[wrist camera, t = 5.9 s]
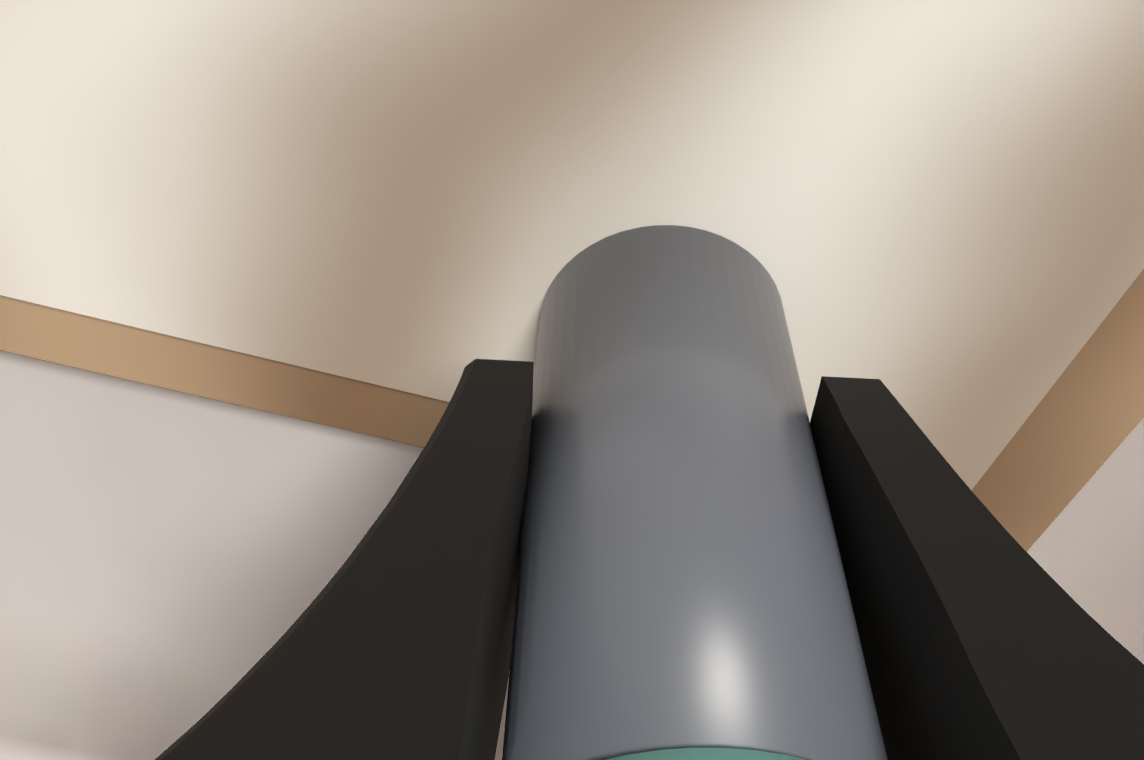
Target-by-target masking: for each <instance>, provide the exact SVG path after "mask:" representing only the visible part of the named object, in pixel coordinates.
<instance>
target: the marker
mask: <svg viewBox="0 0 1144 760" xmlns="http://www.w3.org/2000/svg"><path fill="white" fill-rule="evenodd" d="M502 760H888V759H887V755H886V751H885V746H884V742H883V738H882V733H881V729H880V725H879V720H878V716H877V712H876V707H875V703H874V699H873V694H872V690H871V686H870V681H869V677H868V673H867V668H866V664H865V660H864V655H863V651H862V647H861V642H860V638H859V634H858V629H857V625H856V621H855V616H854V612H853V608H852V604H851V599H850V595H849V591H848V586H847V582H846V578H845V573H844V569H843V565H842V560H841V556H840V552H839V547H838V543H837V539H836V534H835V530H834V526H833V521H832V517H831V513H830V508H829V504H828V500H827V495H826V491H825V487H824V482H823V478H822V474H821V469H820V465H819V461H818V456H817V452H816V448H815V443H814V439H813V435H812V430H811V426H810V422H809V417H808V413H807V409H806V405H805V400H804V396H803V392H802V387H801V383H800V379H799V374H798V370H797V366H796V361H795V357H794V353H793V348H792V344H791V340H790V335H789V331H788V327H787V322H786V318H785V314H784V309H783V305H782V301H781V297H780V294H779V292H778V289H777V287H776V284H775V283H774V281H773V279H772V278H771V276H770V274H769V273H768V271H767V270H766V269H765V268H764V267H763V265H762V264H761V263H760V262H759V261H758V260H757V259H756V258H755V257H754V256H753V255H752V254H750V253H749V252H748V251H747V250H745V249H744V248H742V247H741V246H739V245H738V244H736V243H735V242H733V241H731V240H729V239H727V238H724V237H722V236H720V235H717V234H714V233H712V232H709V231H706V230H701V229H697V228H692V227H686V226H676V225H654V226H646V227H638V228H634V229H630V230H626V231H622V232H619V233H616V234H614V235H611V236H608V237H606V238H603V239H602V240H600V241H598V242H596V243H594V244H592V245H590V246H589V247H587V248H586V249H584V250H583V251H581V252H580V253H578V254H577V255H576V256H575V257H574V258H573V259H571V260H570V261H569V262H568V263H567V264H566V265H565V266H564V267H563V268H562V270H561V271H560V272H559V273H558V274H557V276H556V277H555V279H554V280H553V282H552V283H551V285H550V287H549V288H548V291H547V293H546V295H545V297H544V300H543V303H542V307H541V311H540V317H539V327H538V339H537V351H536V363H535V375H534V387H533V403H532V425H531V438H530V450H529V463H528V475H527V486H526V493H525V500H524V508H523V519H522V530H521V542H520V554H519V566H518V578H517V590H516V602H515V614H514V626H513V638H512V650H511V662H510V674H509V686H508V698H507V710H506V722H505V734H504V746H503V758H502Z"/></svg>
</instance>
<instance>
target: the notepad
mask: <svg viewBox="0 0 1144 760" xmlns="http://www.w3.org/2000/svg"><path fill="white" fill-rule="evenodd" d="M654 225H676V226H686V227H692V228H697V229H701V230H706V231H709V232H712V233H714V234H717V235H720V236H722V237H724V238H727V239H729V240H731V241H733V242H735V243H736V244H738V245H739V246H741V247H742V248H744V249H745V250H747V251H748V252H749V253H750V254H752V255H753V256H754V257H755V258H756V259H757V260H758V261H759V262H760V263H761V264H762V265H763V267H764V268H765V269H766V270H767V271H768V273H769V274H770V276H771V278H772V279H773V281H774V283H775V284H776V287H777V289H778V292H779V294H780V297H781V301H782V305H783V309H784V314H785V318H786V322H787V327H788V331H789V335H790V340H791V344H792V348H793V353H794V357H795V361H796V366H797V370H798V374H799V379H800V383H801V387H802V392H803V396H804V400H805V405H806V409H807V413H808V417H809V422H810V420H811V416H812V412H813V408H814V405H815V401H816V397H817V393H818V389H819V385H820V381H821V377H822V376H826V377H846V378H866V379H880V380H881V381H882V382H883V384H884V385H885V386H886V387H887V388H888V390H889V391H890V392H891V393H892V395H893V396H894V397H895V398H896V399H897V401H898V402H899V403H900V404H901V406H902V407H903V408H904V409H905V410H906V412H907V413H908V414H909V415H910V417H911V418H912V419H913V420H914V422H915V423H916V424H917V425H918V426H919V428H920V429H921V430H922V431H923V433H924V434H925V435H926V436H927V438H928V439H929V440H930V441H931V442H932V444H933V445H934V446H935V447H936V449H937V450H938V451H939V452H940V453H941V455H942V456H943V457H944V458H945V459H946V461H947V462H948V463H949V464H950V466H951V467H952V468H953V469H954V470H955V472H956V473H957V474H958V475H959V476H960V478H961V479H962V480H963V481H964V482H965V483H966V485H967V486H968V487H969V488H970V489H971V491H972V492H973V493H974V494H975V495H976V496H977V497H978V499H979V500H980V501H981V502H982V503H983V504H984V505H985V507H986V508H987V509H988V510H989V511H990V512H991V513H992V514H993V516H994V517H995V518H996V519H997V520H998V521H999V522H1000V524H1001V525H1002V526H1003V527H1004V528H1005V529H1006V530H1007V532H1008V533H1009V534H1010V535H1011V536H1012V537H1013V538H1014V539H1015V540H1016V541H1017V542H1018V543H1019V544H1020V546H1021V547H1022V548H1023V549H1024V550H1025V551H1026V552H1027V551H1028V549H1029V548H1030V547H1031V546H1032V545H1033V544H1034V543H1035V541H1036V540H1037V539H1038V538H1039V537H1040V536H1041V534H1042V533H1043V532H1044V531H1045V530H1046V529H1047V528H1048V526H1049V525H1050V524H1051V523H1052V522H1053V521H1054V520H1055V518H1056V517H1057V516H1058V515H1059V514H1060V513H1061V512H1062V510H1063V509H1064V508H1065V507H1066V506H1067V505H1068V504H1069V502H1070V501H1071V500H1072V499H1073V498H1074V497H1075V495H1076V494H1077V493H1078V492H1079V491H1080V490H1081V489H1082V487H1083V486H1084V485H1085V484H1086V483H1087V482H1088V481H1089V479H1090V478H1091V477H1092V476H1093V475H1094V474H1095V473H1096V471H1097V470H1098V469H1099V468H1100V467H1101V466H1102V465H1103V463H1104V462H1105V461H1106V460H1107V459H1108V458H1109V456H1110V455H1111V454H1112V453H1113V452H1114V451H1115V450H1116V448H1117V447H1118V446H1119V445H1120V444H1121V443H1122V442H1123V440H1124V439H1125V438H1126V437H1127V436H1128V435H1129V434H1130V432H1131V431H1132V430H1133V429H1134V428H1135V427H1136V426H1137V424H1138V423H1139V422H1140V421H1141V420H1142V419H1143V417H1144V0H0V350H2V351H6V352H11V353H15V354H19V355H24V356H28V357H32V358H37V359H41V360H45V361H50V362H54V363H58V364H63V365H67V366H71V367H76V368H80V369H84V370H89V371H93V372H98V373H102V374H106V375H111V376H115V377H119V378H124V379H128V380H132V381H137V382H141V383H145V384H150V385H154V386H158V387H163V388H167V389H171V390H176V391H180V392H184V393H189V394H193V395H198V396H202V397H206V398H211V399H215V400H219V401H224V402H228V403H232V404H237V405H241V406H245V407H250V408H254V409H258V410H263V411H267V412H271V413H276V414H280V415H285V416H289V417H293V418H298V419H302V420H306V421H311V422H315V423H319V424H324V425H328V426H332V427H337V428H341V429H345V430H350V431H354V432H358V433H363V434H367V435H372V436H376V437H380V438H385V439H389V440H393V441H398V442H402V443H406V444H411V445H415V446H419V447H425V446H426V444H427V442H428V441H429V439H430V437H431V435H432V434H433V432H434V430H435V428H436V427H437V425H438V423H439V421H440V419H441V418H442V416H443V414H444V412H445V410H446V408H447V406H448V404H449V402H450V400H451V398H452V396H453V394H454V392H455V390H456V388H457V385H458V383H459V381H460V378H461V376H462V373H463V371H464V368H465V366H467V365H468V364H469V363H471V362H472V361H473V360H475V359H491V360H511V361H531V362H534V369H533V387H534V375H535V363H536V351H537V339H538V327H539V317H540V311H541V307H542V303H543V300H544V297H545V295H546V293H547V291H548V288H549V287H550V285H551V283H552V282H553V280H554V279H555V277H556V276H557V274H558V273H559V272H560V271H561V270H562V268H563V267H564V266H565V265H566V264H567V263H568V262H569V261H570V260H571V259H573V258H574V257H575V256H576V255H577V254H578V253H580V252H581V251H583V250H584V249H586V248H587V247H589V246H590V245H592V244H594V243H596V242H598V241H600V240H602V239H603V238H606V237H608V236H611V235H614V234H616V233H619V232H622V231H626V230H630V229H634V228H638V227H646V226H654Z"/></svg>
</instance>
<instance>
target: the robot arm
mask: <svg viewBox="0 0 1144 760" xmlns="http://www.w3.org/2000/svg"><path fill="white" fill-rule="evenodd" d="M533 369H534V362H531V361H511V360H491V359H475V360H473V361H472V362H471V363H469V364H468V365H467V366H465V368H464V371H463V373H462V376H461V378H460V381H459V383H458V385H457V388H456V390H455V392H454V394H453V396H452V398H451V400H450V402H449V404H448V406H447V408H446V410H445V412H444V414H443V416H442V418H441V419H440V421H439V423H438V425H437V427H436V428H435V430H434V432H433V434H432V435H431V437H430V439H429V441H428V442H427V444H426V446H425V447H424V449H423V451H422V452H421V454H420V455H419V457H418V458H417V460H416V462H415V463H414V465H413V466H412V468H411V469H410V471H409V473H408V474H407V476H406V477H405V479H404V480H403V482H402V484H401V485H400V487H399V488H398V490H397V491H396V493H395V495H394V496H393V497H392V499H391V500H390V502H389V503H388V505H387V506H386V508H385V509H384V510H383V512H382V513H381V514H380V516H379V517H378V519H377V520H376V521H375V523H374V524H373V525H372V527H371V528H370V529H369V531H368V532H367V533H366V535H365V536H364V538H363V539H362V540H361V542H360V543H359V544H358V546H357V547H356V548H355V550H354V551H353V552H352V554H351V555H350V557H349V558H348V559H347V561H346V562H345V563H344V564H343V566H342V567H341V568H340V569H339V571H338V572H337V573H336V574H335V576H334V577H333V578H332V579H331V581H330V582H329V583H328V584H327V585H326V587H325V588H324V589H323V590H322V591H321V593H320V594H319V595H318V596H317V597H316V599H315V600H314V601H313V602H312V603H311V604H310V606H309V607H308V608H307V609H306V610H305V611H304V612H303V614H302V615H301V616H300V617H299V618H298V619H297V620H296V622H295V623H294V624H293V625H292V626H291V627H290V628H289V629H288V631H287V632H286V633H285V634H284V635H283V636H282V637H281V638H280V639H279V640H278V642H277V643H276V644H275V645H274V646H273V647H272V648H271V649H270V650H269V651H268V652H267V653H266V654H265V655H264V656H263V657H262V658H261V659H260V660H259V661H258V662H257V663H256V664H255V665H254V666H253V667H252V669H251V670H250V671H249V672H248V673H247V674H246V675H245V676H244V677H243V678H242V679H241V680H240V681H239V682H238V683H237V684H236V685H235V686H234V687H233V688H232V689H231V690H230V691H229V692H228V693H227V694H226V695H225V696H224V697H223V698H222V699H221V700H220V701H219V702H218V703H217V704H216V705H215V706H214V707H213V708H212V709H211V710H210V711H209V712H208V713H206V714H205V715H204V716H203V717H202V718H201V719H200V720H199V721H198V722H197V723H196V724H195V725H194V726H193V727H191V728H190V729H189V730H188V731H187V732H186V733H185V734H184V735H182V736H181V737H180V738H179V739H178V740H177V741H176V742H174V743H173V744H172V745H171V746H170V747H169V748H168V749H167V750H165V751H164V752H163V753H162V754H161V755H160V756H159V757H158V758H156V759H155V760H494V758H495V753H496V747H497V741H498V735H499V729H500V723H501V717H502V712H503V706H504V700H505V694H506V688H507V682H508V676H509V671H510V662H511V650H512V638H513V626H514V614H515V602H516V590H517V578H518V566H519V554H520V542H521V530H522V519H523V508H524V500H525V493H526V486H527V475H528V463H529V450H530V438H531V425H532V403H533ZM810 426H811V430H812V435H813V439H814V443H815V448H816V452H817V456H818V461H819V465H820V469H821V474H822V478H823V482H824V487H825V491H826V495H827V500H828V504H829V508H830V513H831V517H832V521H833V526H834V530H835V534H836V539H837V543H838V547H839V552H840V556H841V560H842V565H843V569H844V573H845V578H846V582H847V586H848V591H849V595H850V599H851V604H852V608H853V612H854V616H855V621H856V625H857V629H858V634H859V638H860V642H861V647H862V651H863V655H864V660H865V664H866V668H867V673H868V677H869V681H870V686H871V690H872V694H873V699H874V703H875V707H876V712H877V716H878V720H879V725H880V729H881V733H882V738H883V742H884V746H885V751H886V755H887V759H888V760H1144V664H1142V663H1141V662H1140V661H1139V660H1138V659H1137V658H1136V657H1135V656H1133V655H1132V654H1131V653H1130V652H1129V651H1128V650H1127V649H1125V648H1124V647H1123V646H1122V645H1121V644H1120V643H1119V642H1118V641H1116V640H1115V639H1114V638H1113V637H1112V636H1111V635H1110V634H1109V633H1107V632H1106V631H1105V630H1104V629H1103V628H1102V627H1101V626H1100V625H1099V624H1098V623H1097V622H1096V621H1095V620H1094V619H1093V618H1092V617H1091V616H1089V615H1088V614H1087V613H1086V612H1085V611H1084V610H1083V609H1082V608H1081V607H1080V606H1079V605H1078V604H1077V603H1076V602H1075V601H1074V600H1073V599H1072V598H1071V597H1070V596H1069V595H1068V594H1067V593H1066V592H1065V591H1064V590H1063V589H1062V588H1061V587H1060V586H1059V585H1058V584H1057V583H1056V582H1055V581H1054V580H1053V579H1052V578H1051V577H1050V576H1049V575H1048V574H1047V573H1046V572H1045V571H1044V570H1043V569H1042V568H1041V567H1040V565H1039V564H1038V563H1037V562H1036V561H1035V560H1034V559H1033V558H1032V557H1031V556H1030V555H1029V554H1028V553H1027V552H1026V551H1025V550H1024V549H1023V548H1022V547H1021V546H1020V544H1019V543H1018V542H1017V541H1016V540H1015V539H1014V538H1013V537H1012V536H1011V535H1010V534H1009V533H1008V532H1007V530H1006V529H1005V528H1004V527H1003V526H1002V525H1001V524H1000V522H999V521H998V520H997V519H996V518H995V517H994V516H993V514H992V513H991V512H990V511H989V510H988V509H987V508H986V507H985V505H984V504H983V503H982V502H981V501H980V500H979V499H978V497H977V496H976V495H975V494H974V493H973V492H972V491H971V489H970V488H969V487H968V486H967V485H966V483H965V482H964V481H963V480H962V479H961V478H960V476H959V475H958V474H957V473H956V472H955V470H954V469H953V468H952V467H951V466H950V464H949V463H948V462H947V461H946V459H945V458H944V457H943V456H942V455H941V453H940V452H939V451H938V450H937V449H936V447H935V446H934V445H933V444H932V442H931V441H930V440H929V439H928V438H927V436H926V435H925V434H924V433H923V431H922V430H921V429H920V428H919V426H918V425H917V424H916V423H915V422H914V420H913V419H912V418H911V417H910V415H909V414H908V413H907V412H906V410H905V409H904V408H903V407H902V406H901V404H900V403H899V402H898V401H897V399H896V398H895V397H894V396H893V395H892V393H891V392H890V391H889V390H888V388H887V387H886V386H885V385H884V384H883V382H882V381H881V380H880V379H866V378H846V377H826V376H822V377H821V381H820V385H819V389H818V393H817V397H816V401H815V405H814V408H813V412H812V416H811V420H810Z"/></svg>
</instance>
